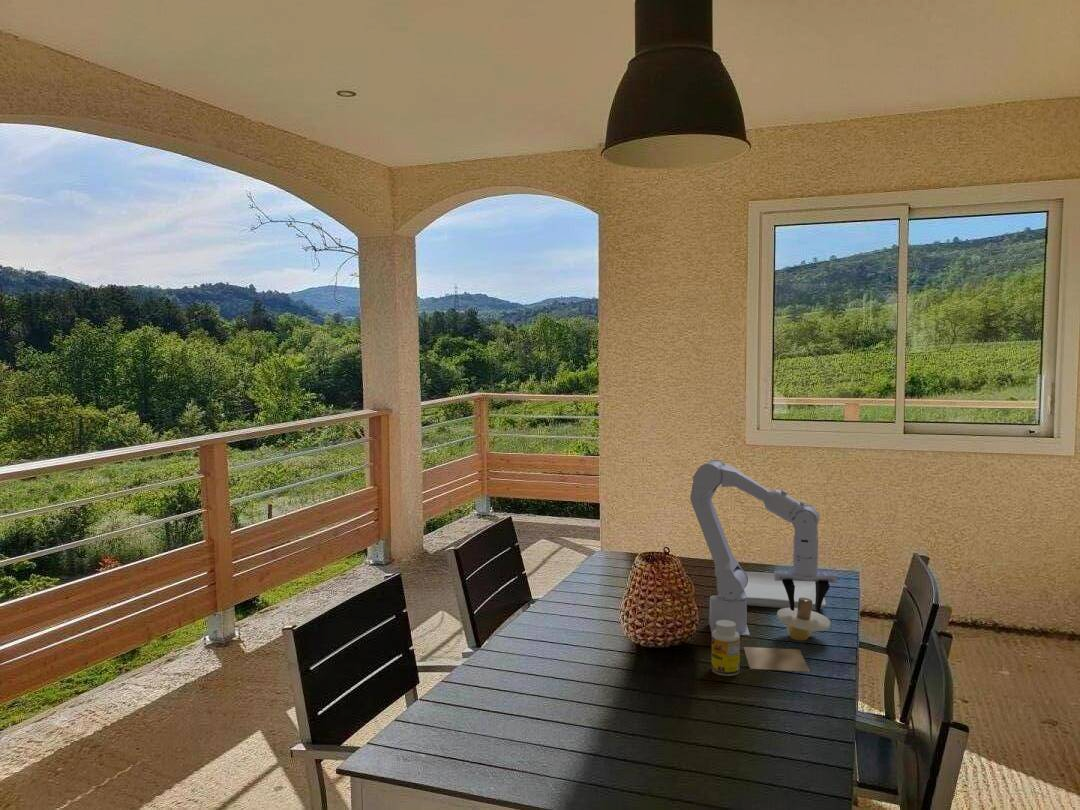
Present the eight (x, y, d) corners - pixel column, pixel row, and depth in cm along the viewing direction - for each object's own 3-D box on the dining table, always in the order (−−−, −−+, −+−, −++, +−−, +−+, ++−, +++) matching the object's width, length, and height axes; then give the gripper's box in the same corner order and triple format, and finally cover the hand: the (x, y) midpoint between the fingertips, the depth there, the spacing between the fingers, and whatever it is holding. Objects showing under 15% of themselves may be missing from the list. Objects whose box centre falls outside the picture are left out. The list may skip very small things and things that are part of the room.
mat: (749, 671, 172) (749, 668, 172) (743, 649, 185) (743, 646, 185) (810, 674, 170) (810, 671, 170) (799, 652, 183) (799, 649, 183)
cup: (791, 652, 184) (791, 629, 184) (764, 634, 196) (765, 613, 195) (835, 646, 187) (835, 625, 187) (806, 630, 199) (806, 609, 198)
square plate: (724, 608, 217) (724, 594, 217) (729, 581, 243) (729, 569, 243) (826, 616, 209) (826, 602, 209) (820, 588, 235) (820, 575, 235)
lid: (779, 626, 185) (781, 605, 184) (774, 607, 197) (776, 587, 196) (833, 634, 182) (836, 613, 182) (825, 615, 194) (828, 594, 194)
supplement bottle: (706, 668, 174) (706, 619, 173) (730, 665, 175) (730, 617, 175) (720, 679, 168) (720, 629, 167) (745, 676, 170) (745, 626, 169)
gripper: (777, 558, 186) (776, 613, 187) (840, 560, 184) (839, 616, 185) (773, 551, 193) (772, 604, 194) (833, 553, 191) (832, 607, 192)
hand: (804, 609), depth 190 cm, fingers open, 5 cm apart
